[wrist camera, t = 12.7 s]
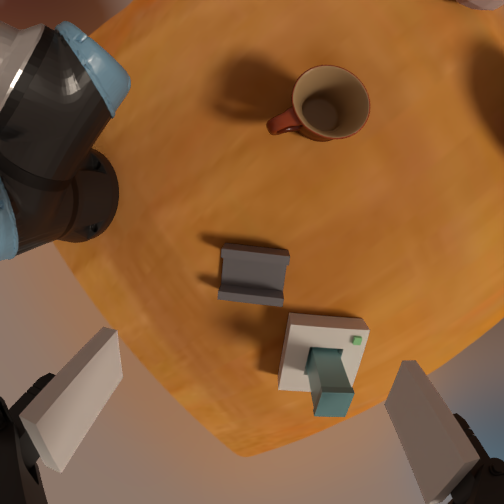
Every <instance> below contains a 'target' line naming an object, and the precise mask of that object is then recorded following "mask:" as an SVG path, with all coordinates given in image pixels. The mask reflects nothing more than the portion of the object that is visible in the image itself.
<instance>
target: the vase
mask: <svg viewBox="0 0 504 504" xmlns="http://www.w3.org/2000/svg"><path fill="white" fill-rule="evenodd" d="M456 1H457V2H459V3H460V4H462V5H464V6H466V7H469V8H471V9H477V10H495V9H497V8H499V7H500V6H502V5H503V4H504V0H456Z"/></svg>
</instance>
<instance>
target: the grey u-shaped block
mask: <svg viewBox="0 0 504 504" xmlns="http://www.w3.org/2000/svg"><path fill="white" fill-rule="evenodd" d="M221 258H223V269H222V281H221V286H220V288H219V291H218V299H220V300H228V301H236V302H244V303H252V304H261V305H270V306H280V307H283V301H284V297H283V286H284V279H285V272H286V265H289V260H290V255H289V251H288V250H283V249H274V248H265V247H257V246H248V245H239V244H230V243H225V244H224V246H223V247H222V250H221Z"/></svg>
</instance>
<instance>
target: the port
mask: <svg viewBox="0 0 504 504" xmlns="http://www.w3.org/2000/svg"><path fill="white" fill-rule="evenodd" d="M369 332H370V329H369V328H368V326H367V325H366V323H365V321H364V320H363V319H360V318H346V317H333V316H321V315H309V314H299V313H289V316H288V321H287V327H286V333H285V339H284V344H283V350H282V355H281V361H280V366H279V371H278V390H290V391H307V392H311V389H310V384H309V378H308V373H307V367H306V362H307V358H308V353H309V349H310V347H320V348H337V350H338V352H339V355H340V358H341V360H342V363H343V366H344V369H345V371H346V374H347V377H348V380H349V382H350V385H351V387H352V385H353V383H354V380H355V377H356V374H357V371H358V368H359V365H360V362H361V358H362V355H363V352H364V349H365V346H366V342H367V339H368V335H369Z"/></svg>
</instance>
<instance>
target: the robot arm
mask: <svg viewBox="0 0 504 504" xmlns="http://www.w3.org/2000/svg"><path fill="white" fill-rule="evenodd" d="M130 87H131V80H130V77H129V75H128V73H127V72H126V71H125V70H124V68H123V67H122V66H121V65H120V64H119V63H118V62H117V61H116V60H115V59H114V58H113V57H112V56H111V55H110V54H109V53H108V52H106V51H105V50H104V49H103V48H102V47H101V46H100V45H99V44H97V43H96V42H95V41H94V40H93V39H91V38H90V37H88V36H87V35H86V34H85V33H83V32H82V31H81V30H80V29H79V28H78V27H76V26H75V25H73V24H72V23H70V22H67V21H63V22H62V23H61V24H59V25H57V26H56V27H55V31H54V30H52V29H50V28H49V27H47V26H45V25H43V24H39V25H36V26H33V27H30V28H27V29H24V30H18V29H16V28H14V27H12V26H10V25H8V24H6V23H4V22H2V21H0V261H1V260H5V259H12V258H14V257H15V256H16V255H19V254H21V253H24V252H26V251H28V250H31V249H34V248H36V247H38V246H41V245H43V244H46V243H49V242H52V241H54V240H62V241H67V242H73V243H78V242H85V241H88V240H90V239H93V238H95V237H97V236H99V235H100V234H101V233H103V232H104V231H105V230H106V229H107V227H108V226H109V225H110V223H111V222H112V220H113V218H114V216H115V213H116V210H117V206H118V200H119V187H118V180H117V177H116V173H115V171H114V169H113V167H112V165H111V163H110V162H109V160H108V159H107V158H106V157H105V156H104V155H103V154H101V153H100V152H98V151H97V150H94V149H91V148H92V146H93V144H94V143H95V141H96V140H97V138H98V137H99V135H100V134H101V132H102V131H103V129H104V128H105V126H106V125H107V123H108V122H109V120H110V119H111V118H112V119H113V117H114V116H115V111H116V110H117V108H118V107H119V105H120V104H121V102H122V101H123V100H124V98H125V97H126V95H127V94H128V92H129V90H130ZM122 378H123V374H122V367H121V359H120V351H119V342H118V332H117V330H114V329H109V328H105V327H103V328H102V329H101V330H100V331H99V332H98V333H97V334H96V335H95V336H94V337H93V338H92V339H91V340H90V341H89V342H88V343H87V344H86V345H85V346H84V347H83V348H82V349H81V350H80V351H79V352H78V353H77V354H76V355H75V356H74V357H73V358H72V359H71V360H70V361H69V362H68V363H67V364H66V365H65V366H64V367H63V368H62V369H61V370H60V371H59V372H58V373H57V375H54V374H51V373H48V374H46V375H44V376H42V377H40V378H39V379H38V380H37V381H36V382H35V383H34V384H33V386H32V387H30V388H29V389H28V390H27V393H24V394H23V396H21V398H20V399H19V400H18V401H17V402H16V403H15V404H14V405H13V406H12V407H11V408H10V409H9V410H8V408H7V405H6V403H5V401H4V400H3V399H2V397H0V504H48V503H47V500H46V496H45V492H44V488H43V485H42V481H41V477H40V472H39V468H38V465H37V463H36V461H37V459H38V458H39V457H41V459H42V461H43V463H44V464H45V466H47V467H49V468H51V469H53V470H55V471H57V472H59V473H62V471H63V470H64V468H65V466H66V465H67V463H68V462H69V460H70V458H71V457H72V455H73V454H74V452H75V450H76V449H77V447H78V446H79V444H80V443H81V441H82V439H83V438H84V436H85V435H86V433H87V432H88V430H89V428H90V427H91V425H92V424H93V422H94V421H95V419H96V418H97V416H98V414H99V413H100V411H101V410H102V408H103V407H104V405H105V404H106V402H107V401H108V399H109V398H110V396H111V395H112V393H113V392H114V390H115V389H116V387H117V386H118V384H119V383H120V381H121V380H122ZM385 407H386V409H387V412H388V414H389V416H390V418H391V421H392V423H393V425H394V427H395V430H396V432H397V434H398V437H399V439H400V441H401V444H402V446H403V448H404V451H405V453H406V455H407V458H408V460H409V463H410V465H411V468H412V470H413V473H414V475H415V478H416V480H417V483H418V485H419V488H420V490H421V493H422V496H423V498H424V501H425V503H426V504H436V503H440V502H442V501H443V500H444V499H445V498H446V497H447V496H448V495H449V494H451V496H452V498H453V499H452V500H451V501H450V502H449V503H448V504H504V462H503V461H502V460H501V459H498V458H490V457H489V456H488V454H487V453H486V451H485V450H484V448H483V447H482V445H481V443H480V442H479V440H478V439H477V437H476V436H474V433H473V431H472V430H470V427H469V425H468V424H467V422H466V421H465V419H463V418H462V417H461V416H460V415H458V414H457V413H456V414H452V412H451V411H450V409H449V408H448V406H447V405H446V403H445V402H444V401H443V399H442V397H441V396H440V394H439V393H438V392H437V390H436V389H435V387H434V386H433V384H432V383H431V382H430V380H429V379H428V377H427V376H426V374H425V373H424V371H423V370H422V369H421V367H420V366H419V364H418V363H417V362H416V360H412V361H402V363H401V366H400V368H399V371H398V373H397V376H396V378H395V381H394V383H393V386H392V388H391V391H390V393H389V395H388V397H387V400H386V402H385Z"/></svg>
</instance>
